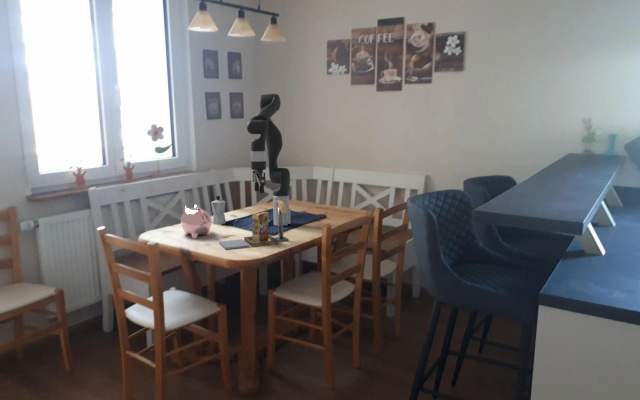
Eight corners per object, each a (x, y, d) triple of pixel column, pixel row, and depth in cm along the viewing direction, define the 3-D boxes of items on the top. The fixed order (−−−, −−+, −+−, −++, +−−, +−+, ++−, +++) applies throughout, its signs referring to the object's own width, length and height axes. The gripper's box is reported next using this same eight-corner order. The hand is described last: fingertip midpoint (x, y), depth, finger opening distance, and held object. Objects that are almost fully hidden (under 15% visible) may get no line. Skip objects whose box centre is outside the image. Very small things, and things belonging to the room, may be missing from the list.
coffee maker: (220, 228, 294) (219, 197, 291) (207, 227, 297) (205, 197, 294) (232, 223, 308) (231, 194, 305) (220, 222, 311) (218, 193, 308)
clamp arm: (276, 205, 262) (276, 200, 262) (283, 205, 263) (282, 199, 262) (280, 212, 242) (280, 206, 242) (287, 212, 243) (287, 206, 242)
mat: (241, 241, 263) (241, 239, 262) (249, 247, 250) (249, 245, 250) (219, 243, 258) (218, 241, 258) (225, 249, 245) (225, 247, 245)
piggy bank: (200, 230, 288) (198, 203, 286) (217, 235, 276) (216, 206, 273) (175, 235, 278) (174, 206, 275) (192, 240, 265) (191, 210, 263)
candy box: (259, 244, 255) (258, 215, 252) (252, 243, 257) (251, 214, 254) (269, 241, 262) (268, 212, 260) (262, 240, 264) (261, 211, 262)
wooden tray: (269, 238, 268) (269, 234, 268) (277, 243, 256) (277, 240, 256) (244, 240, 263) (244, 237, 263) (251, 246, 251) (251, 242, 250)
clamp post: (284, 238, 268) (283, 205, 265) (288, 240, 262) (287, 207, 260) (273, 239, 265) (272, 206, 263) (277, 242, 260) (276, 208, 257)
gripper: (270, 160, 248) (270, 193, 250) (261, 158, 261) (262, 190, 263) (255, 161, 245) (256, 194, 247) (247, 159, 258) (248, 190, 260)
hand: (259, 192), depth 255 cm, fingers open, 8 cm apart
